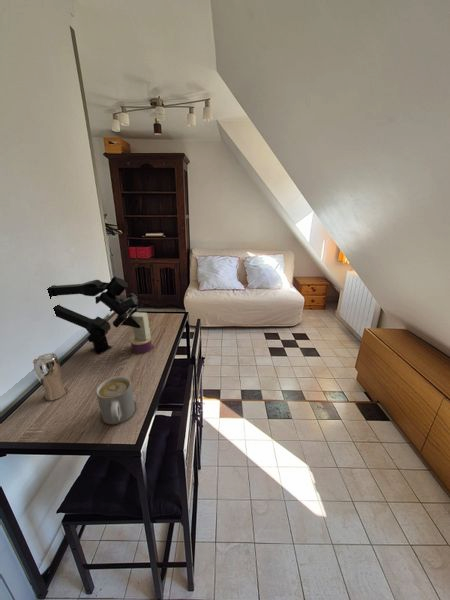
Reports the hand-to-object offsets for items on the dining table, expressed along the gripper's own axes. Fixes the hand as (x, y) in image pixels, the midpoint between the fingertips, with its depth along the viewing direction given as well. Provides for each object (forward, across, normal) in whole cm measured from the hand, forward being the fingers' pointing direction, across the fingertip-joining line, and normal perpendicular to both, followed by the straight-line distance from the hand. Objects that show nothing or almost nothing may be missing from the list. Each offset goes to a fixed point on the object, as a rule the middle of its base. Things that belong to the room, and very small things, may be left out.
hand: (141, 325), depth 113 cm
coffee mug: (+11, -41, +6) cm, 43 cm away
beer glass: (-7, -30, +25) cm, 40 cm away
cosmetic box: (+4, 0, +5) cm, 7 cm away
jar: (+8, 0, +10) cm, 12 cm away
